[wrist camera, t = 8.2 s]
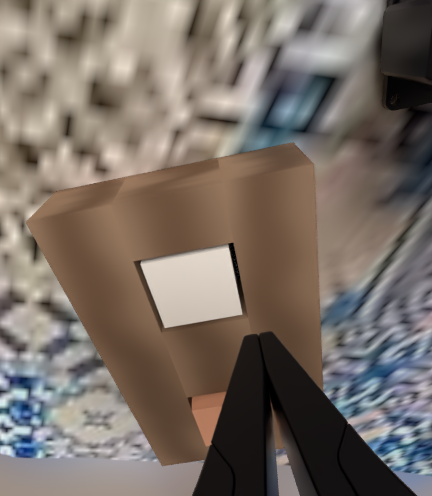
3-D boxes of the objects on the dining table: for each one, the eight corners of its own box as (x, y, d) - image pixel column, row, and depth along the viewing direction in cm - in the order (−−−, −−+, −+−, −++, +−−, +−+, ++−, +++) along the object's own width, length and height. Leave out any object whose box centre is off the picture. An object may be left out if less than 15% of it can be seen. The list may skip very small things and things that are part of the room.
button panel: (293, 142, 19) (314, 164, 15) (311, 398, 31) (325, 442, 28) (56, 191, 20) (25, 222, 16) (166, 421, 32) (162, 466, 29)
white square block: (224, 218, 20) (228, 247, 17) (236, 279, 23) (242, 314, 20) (148, 232, 21) (140, 264, 18) (169, 291, 23) (164, 328, 20)
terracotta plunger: (252, 358, 26) (259, 399, 23) (260, 396, 28) (267, 437, 25) (192, 368, 26) (191, 410, 23) (205, 404, 29) (205, 446, 26)
